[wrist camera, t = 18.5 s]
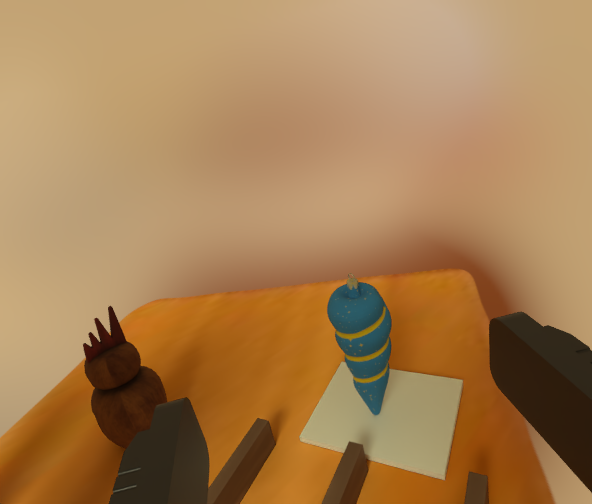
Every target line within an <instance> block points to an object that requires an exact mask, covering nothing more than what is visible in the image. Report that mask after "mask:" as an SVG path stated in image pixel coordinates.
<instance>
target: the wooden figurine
mask: <svg viewBox="0 0 592 504" xmlns="http://www.w3.org/2000/svg"><path fill="white" fill-rule="evenodd" d="M108 311H109V320H110V330H111V336H110V335H109V333H108V332H107V331H106V329H105V328H104V326H103V325H102V324H101V322H100V321H99V319H98V318H95V324H96V327H97V330H98V334H99V337H100V342H99V341H98V340H97V338H96V337H95V336H94V335H93V334H92V333H91V332H90V333H89V338H90V341H91V344H92V346H91V347H90V346H89V345H87V344H86V343H84V344H83V347H84V352H85V356H86V361H85V365H84V366H85V373H86V376H87V378H88V379H89V381H90V382H91V384H92V385H93V386H94V387H95V389H94V390H93V394H92V399H91V406H92V411H93V413H94V415H95V417H96V420H97V422H98V425H99V427H100V428H101V430H102V432H103V433H104V434H105V435H106V437H107V438H108V439H109V440H111V441H112V442H114V443H115V444H117V445H119V446H121V447H124V448H127V447H128V446H129V444H130V443H131V441H132V440H133V438H134V437H135V436H136V434H137V433H138V432H141V431H145V430H148V429H150V426H151V422H152V418H153V414H154V410H155V407H156V406H157V405H159V404H163V403H167V398H166V393H165V390H164V387H163V384H162V382H161V379H160V377H159V376H158V375H157V374H156V372H154V371H153V370H152V369H150V368H148V367H145V366H140V364H141V359H140V355H139V353H138V351H137V349H136V348H135V347H134V346H133V345H132V344H131V343H129V342H127V341H126V339H125V337H124V334H123V331H122V329H121V327H120V324H119V322H118V320H117V317H116V315H115V313H114V310H113V308H112V307H111V306H109V307H108Z"/></svg>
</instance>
